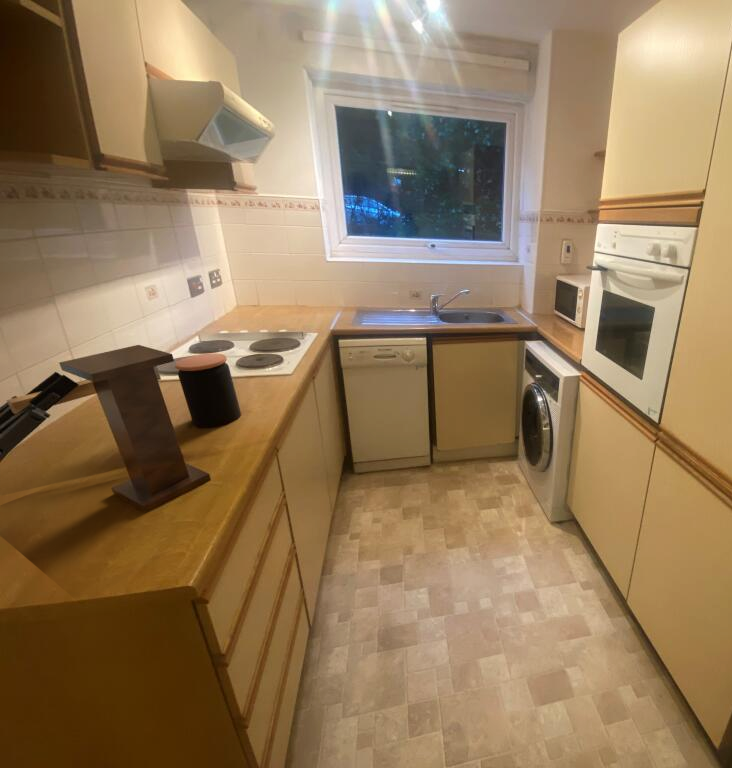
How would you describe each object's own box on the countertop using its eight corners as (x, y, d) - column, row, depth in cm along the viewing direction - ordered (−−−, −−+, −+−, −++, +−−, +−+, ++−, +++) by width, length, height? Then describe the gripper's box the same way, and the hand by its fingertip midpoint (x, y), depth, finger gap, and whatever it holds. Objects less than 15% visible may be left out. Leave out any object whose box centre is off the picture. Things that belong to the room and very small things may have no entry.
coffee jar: (249, 413, 120) (233, 352, 113) (232, 432, 110) (214, 366, 103) (206, 416, 118) (188, 354, 111) (186, 435, 108) (165, 368, 102)
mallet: (24, 419, 75) (11, 392, 73) (6, 409, 78) (-7, 384, 76) (161, 379, 92) (153, 357, 90) (141, 373, 95) (134, 351, 94)
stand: (145, 512, 82) (91, 374, 71) (113, 494, 87) (58, 362, 76) (211, 479, 91) (172, 353, 81) (179, 464, 96) (138, 344, 86)
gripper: (-85, 490, 63) (66, 372, 76) (-114, 463, 70) (29, 358, 82) (-26, 511, 69) (105, 398, 81) (-59, 484, 75) (68, 383, 88)
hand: (67, 378), depth 82 cm, fingers closed on mallet, 2 cm apart
